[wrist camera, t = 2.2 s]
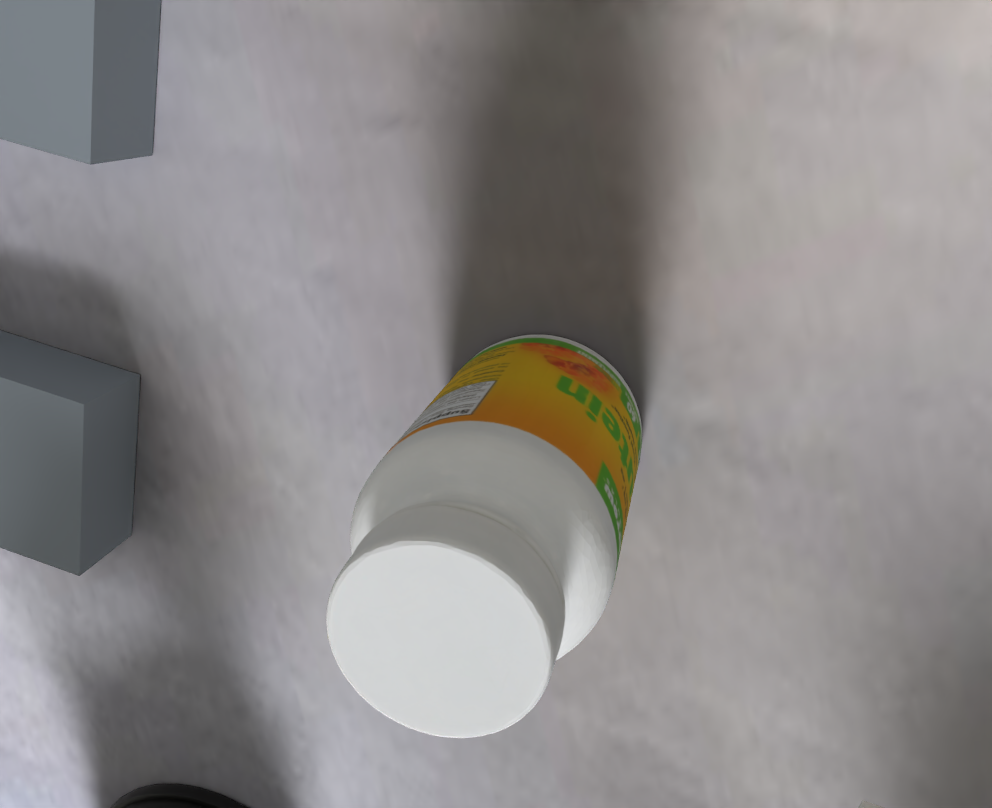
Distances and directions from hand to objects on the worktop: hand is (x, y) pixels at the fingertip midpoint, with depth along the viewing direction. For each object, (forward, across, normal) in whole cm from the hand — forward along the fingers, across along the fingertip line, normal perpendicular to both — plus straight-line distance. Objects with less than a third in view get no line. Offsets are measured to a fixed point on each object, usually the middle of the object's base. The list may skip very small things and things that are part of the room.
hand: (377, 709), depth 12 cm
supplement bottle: (+12, 0, 0) cm, 12 cm away
